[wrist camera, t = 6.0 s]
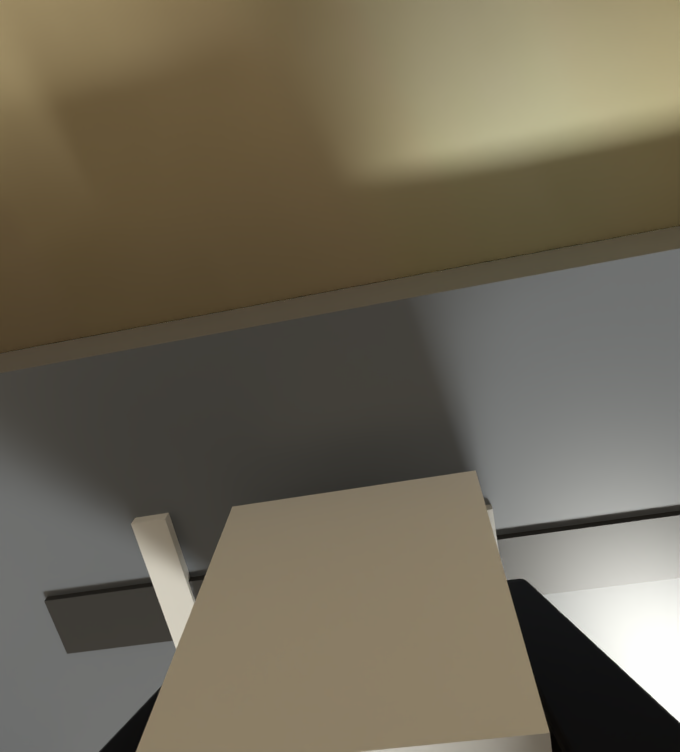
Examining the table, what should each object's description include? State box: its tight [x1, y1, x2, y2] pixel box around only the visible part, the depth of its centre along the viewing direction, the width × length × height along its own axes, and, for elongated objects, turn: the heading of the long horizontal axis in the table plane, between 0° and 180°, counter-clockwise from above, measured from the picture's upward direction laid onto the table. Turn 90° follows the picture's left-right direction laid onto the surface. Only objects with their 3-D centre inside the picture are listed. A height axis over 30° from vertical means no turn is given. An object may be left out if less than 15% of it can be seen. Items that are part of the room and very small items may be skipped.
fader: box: [136, 470, 552, 752], centre depth 7 cm, size 3×4×4 cm
